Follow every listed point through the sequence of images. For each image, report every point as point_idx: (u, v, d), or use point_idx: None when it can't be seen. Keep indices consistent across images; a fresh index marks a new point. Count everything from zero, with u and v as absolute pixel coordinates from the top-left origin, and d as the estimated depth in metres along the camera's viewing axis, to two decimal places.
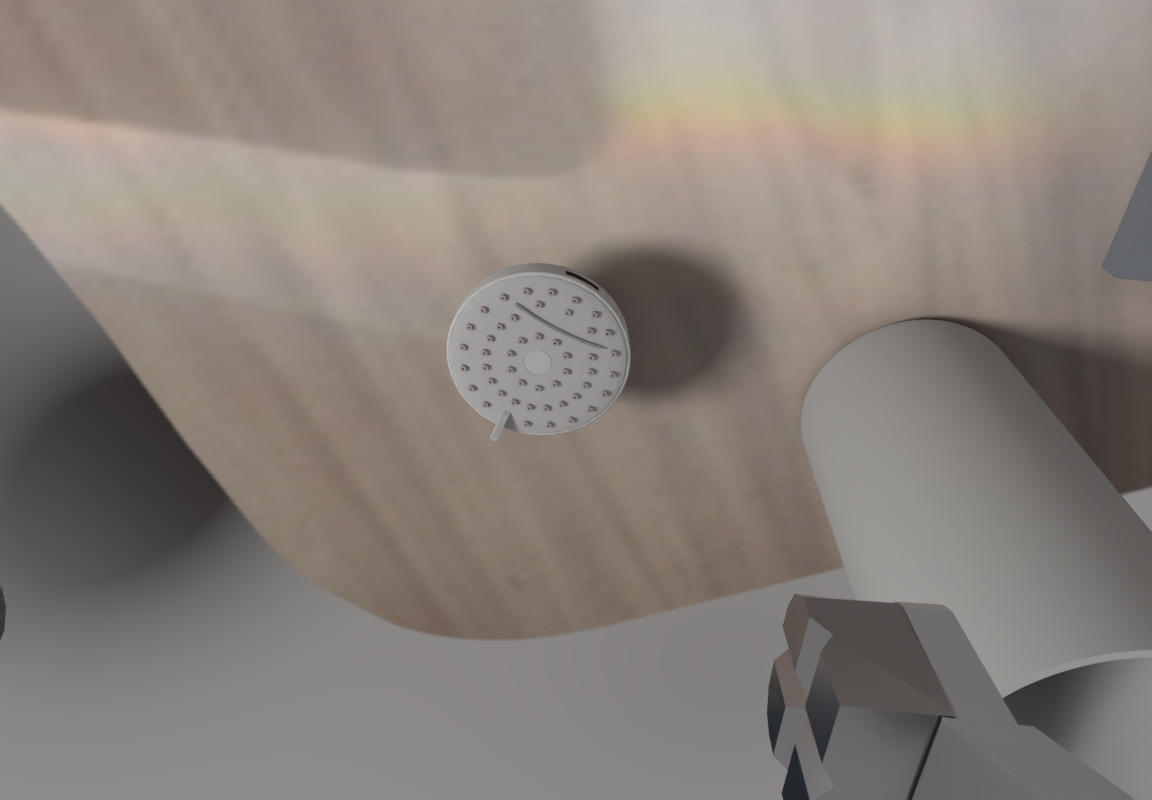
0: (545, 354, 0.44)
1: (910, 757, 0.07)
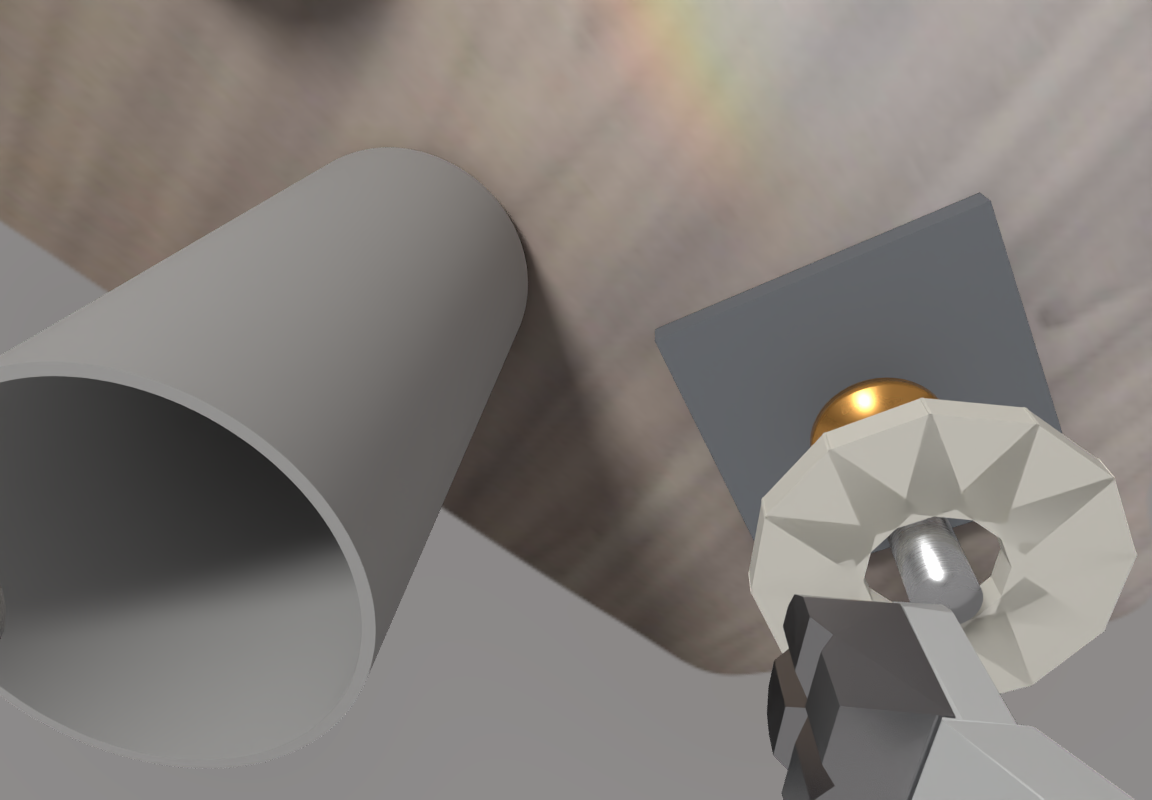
0: None
1: (910, 755, 0.07)
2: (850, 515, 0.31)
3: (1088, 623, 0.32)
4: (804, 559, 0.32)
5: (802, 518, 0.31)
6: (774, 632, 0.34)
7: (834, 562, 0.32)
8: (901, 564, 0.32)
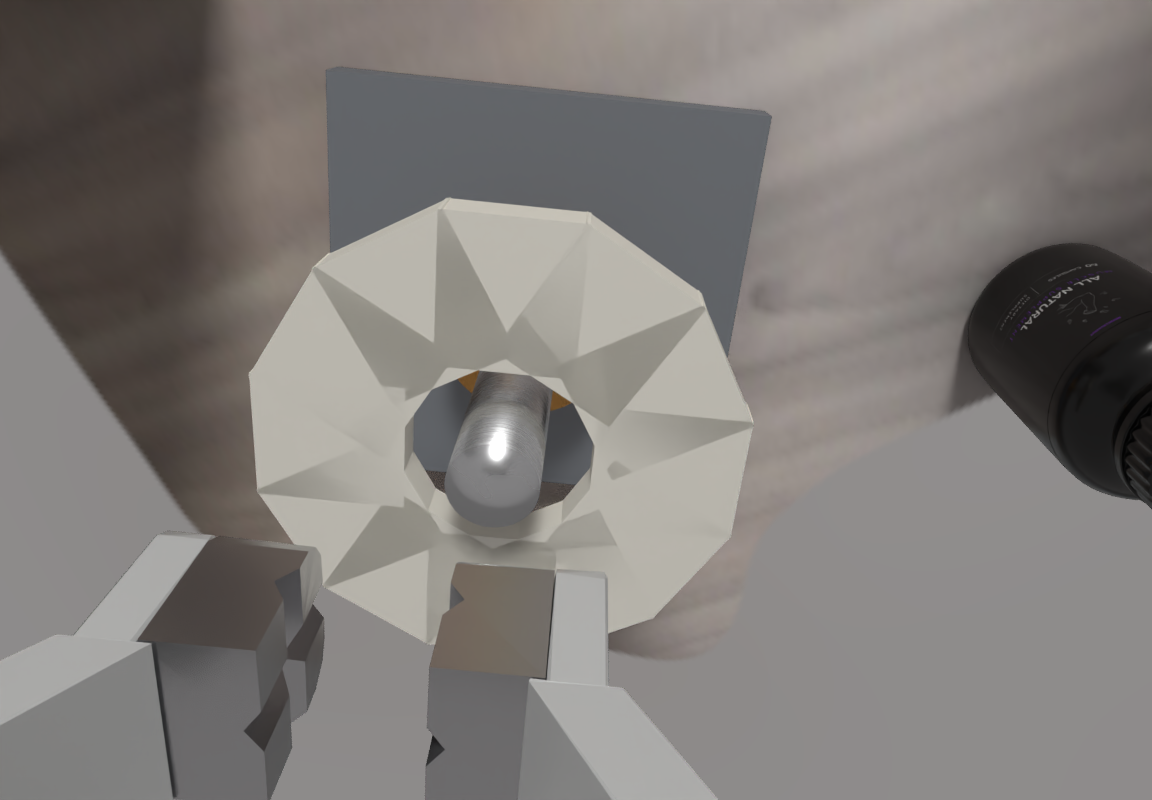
0: None
1: (511, 719, 0.07)
2: (427, 322, 0.21)
3: (641, 601, 0.25)
4: (340, 358, 0.22)
5: (363, 296, 0.21)
6: (258, 449, 0.23)
7: (379, 382, 0.22)
8: (463, 428, 0.23)
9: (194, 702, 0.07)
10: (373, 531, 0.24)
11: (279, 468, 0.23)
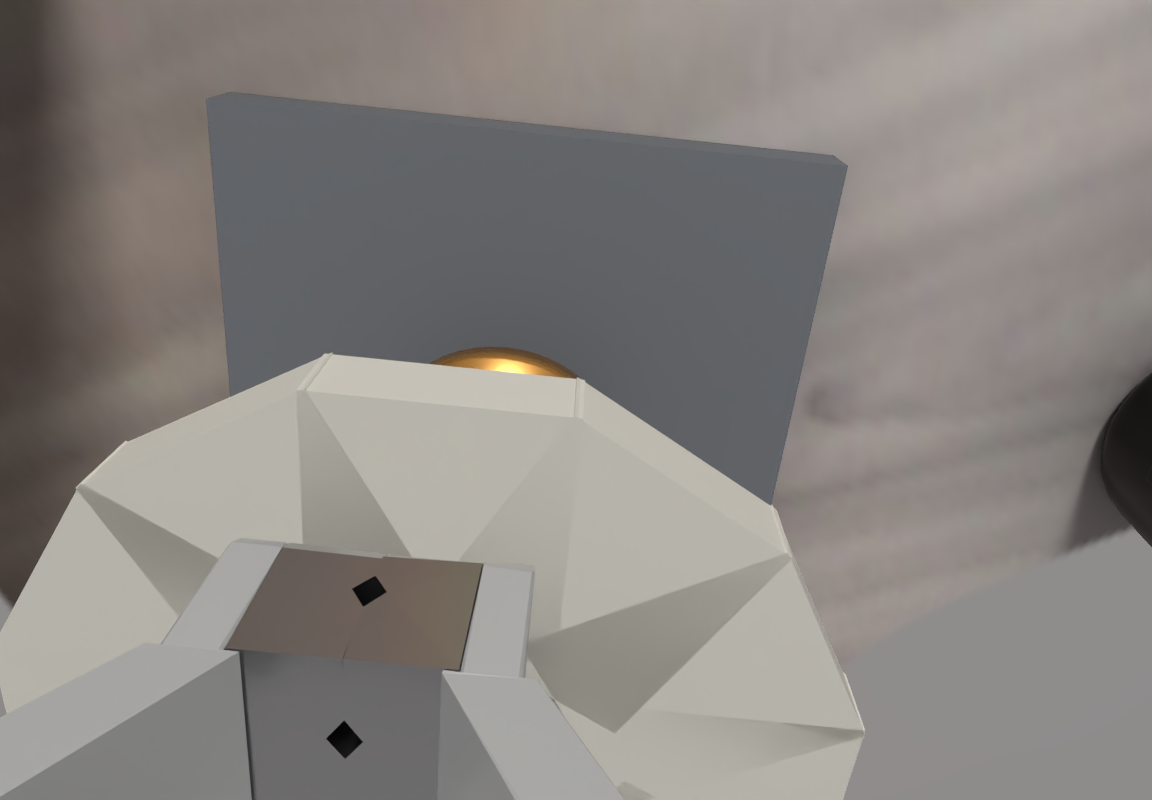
0: None
1: (427, 712, 0.07)
2: None
3: None
4: (145, 627, 0.13)
5: (175, 531, 0.12)
6: None
7: None
8: None
9: (278, 710, 0.07)
10: None
11: None
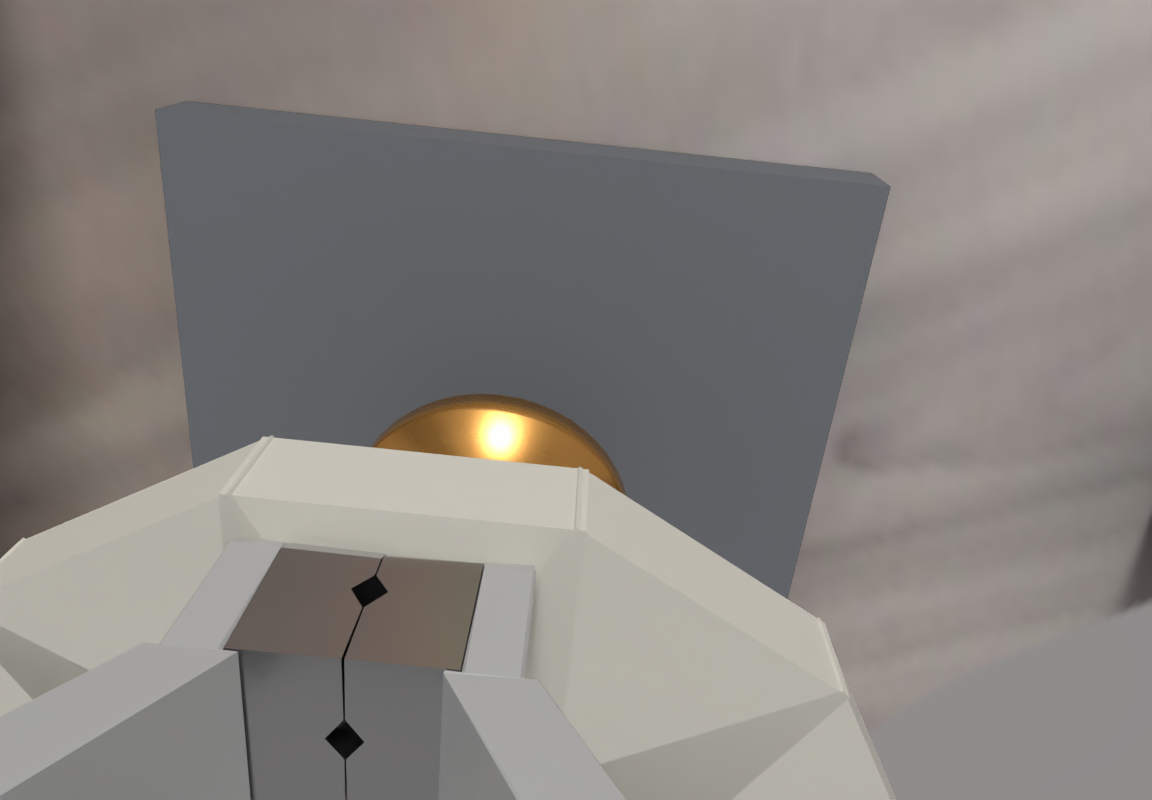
0: None
1: (428, 712, 0.07)
2: None
3: None
4: None
5: (75, 660, 0.09)
6: None
7: None
8: None
9: (277, 710, 0.07)
10: None
11: None
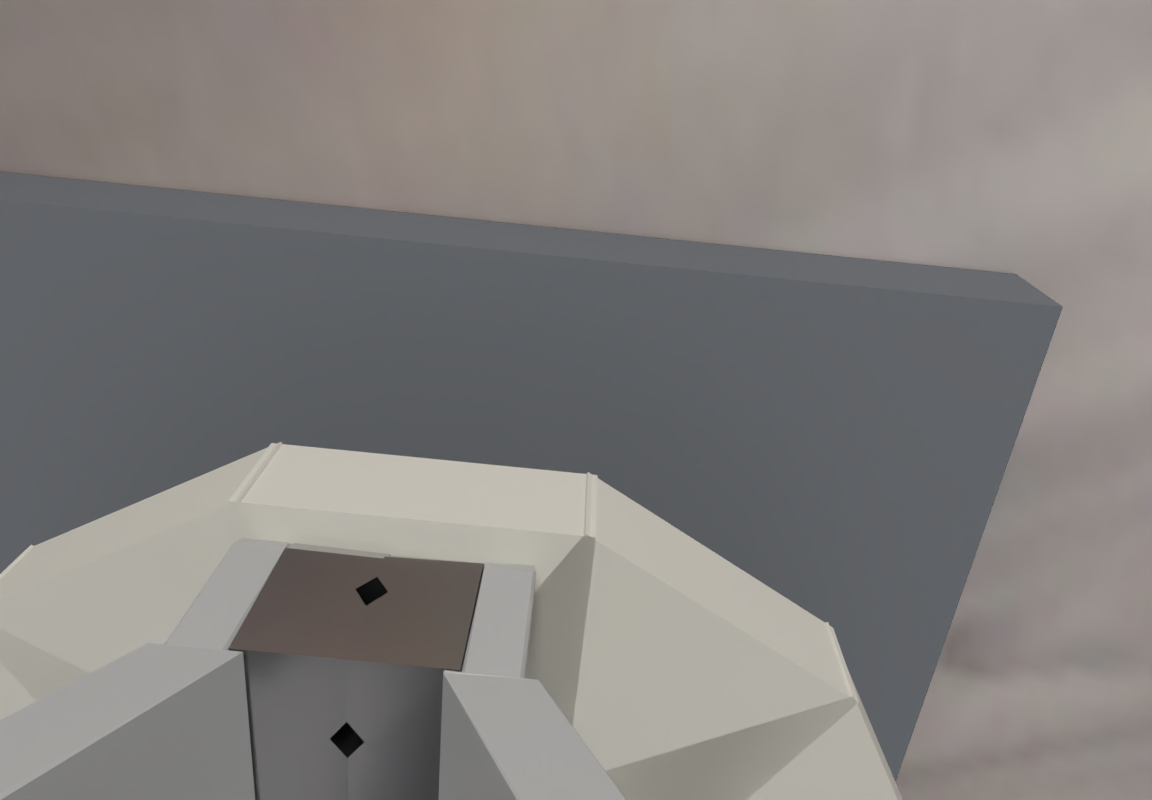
0: None
1: (427, 711, 0.07)
2: None
3: None
4: None
5: (85, 666, 0.09)
6: None
7: None
8: None
9: (282, 710, 0.07)
10: None
11: None
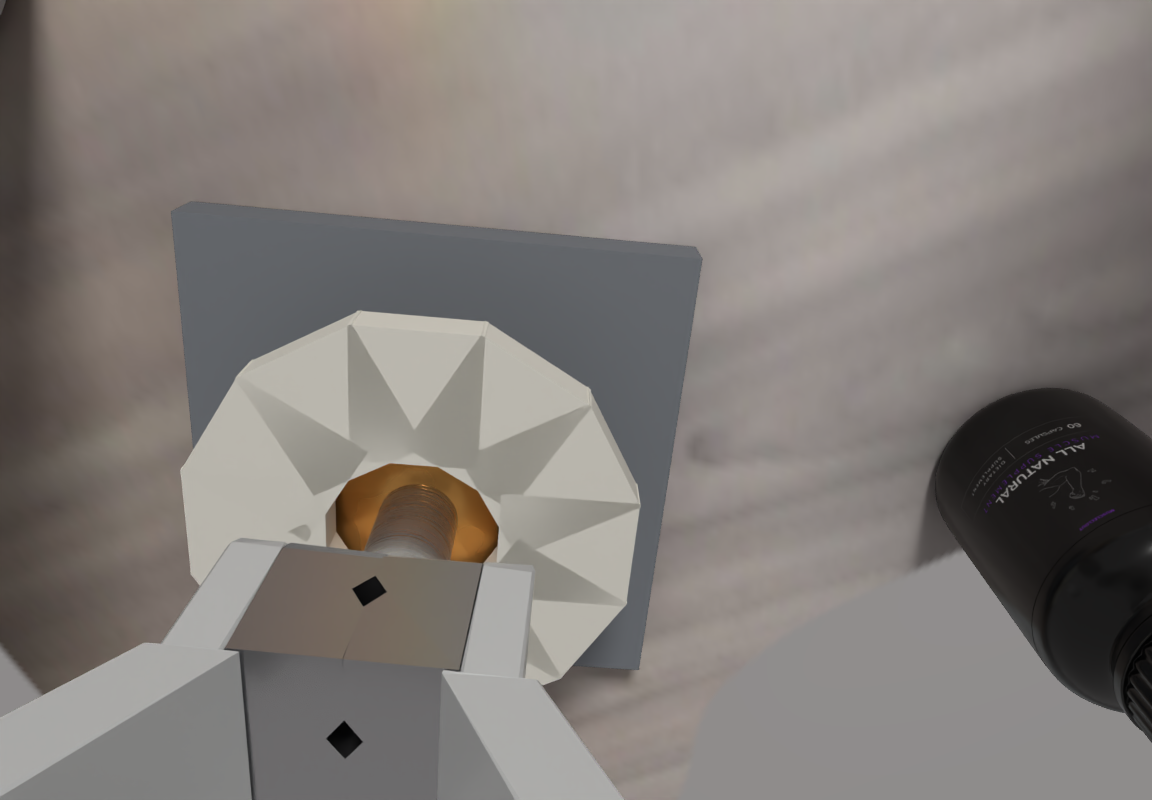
0: None
1: (428, 711, 0.07)
2: (342, 422, 0.24)
3: (548, 663, 0.27)
4: (264, 455, 0.24)
5: (283, 400, 0.24)
6: (190, 536, 0.25)
7: (300, 475, 0.25)
8: None
9: (279, 710, 0.07)
10: None
11: (210, 553, 0.25)
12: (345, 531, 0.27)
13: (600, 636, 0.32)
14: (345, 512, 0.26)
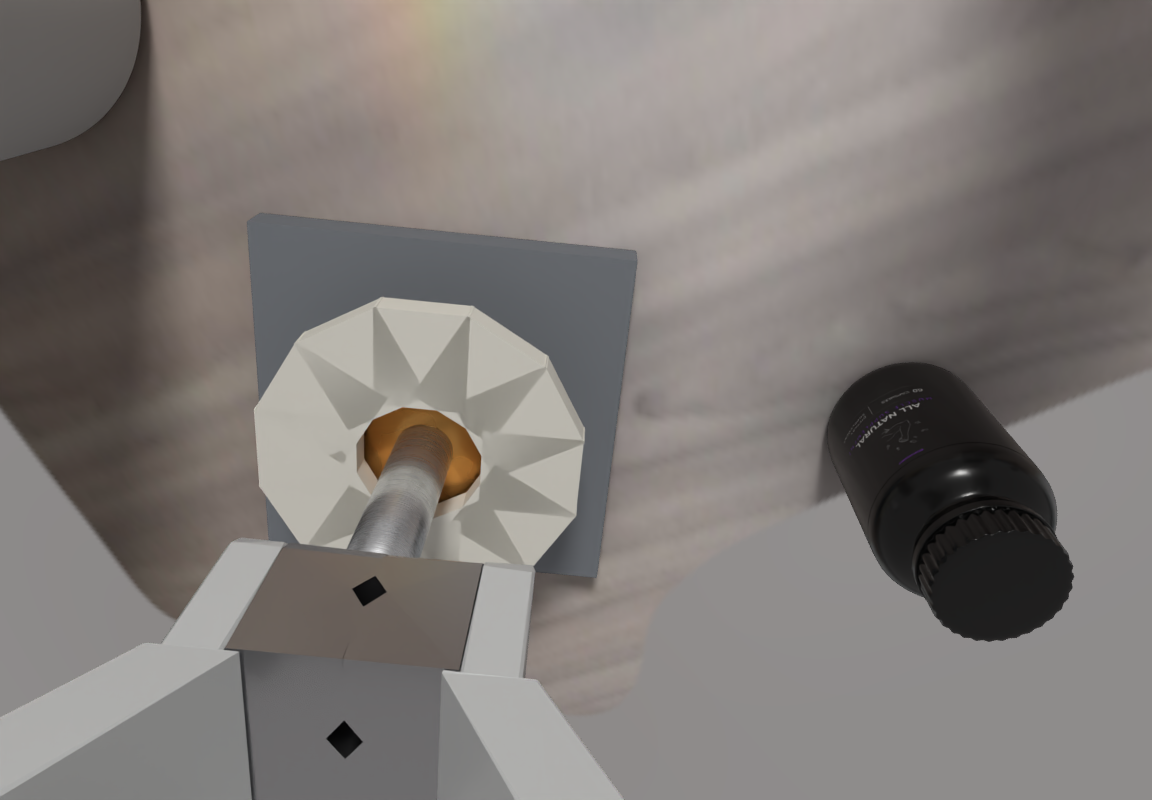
0: None
1: (427, 711, 0.07)
2: (369, 377, 0.33)
3: (519, 560, 0.37)
4: (313, 399, 0.34)
5: (327, 360, 0.33)
6: (260, 458, 0.35)
7: (339, 415, 0.34)
8: None
9: (278, 709, 0.07)
10: (337, 513, 0.36)
11: (274, 470, 0.35)
12: (370, 458, 0.36)
13: (566, 550, 0.42)
14: (371, 444, 0.36)
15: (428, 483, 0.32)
